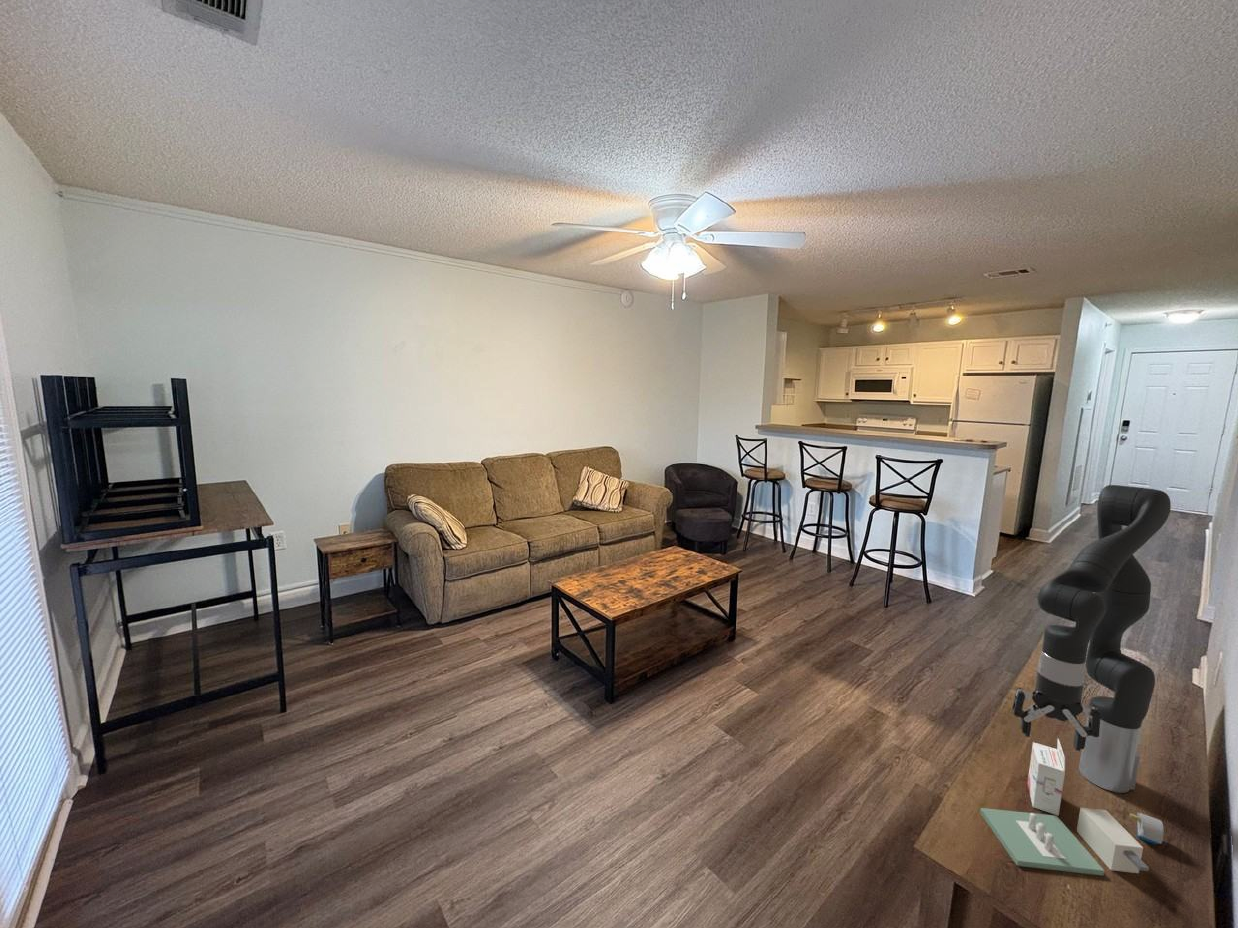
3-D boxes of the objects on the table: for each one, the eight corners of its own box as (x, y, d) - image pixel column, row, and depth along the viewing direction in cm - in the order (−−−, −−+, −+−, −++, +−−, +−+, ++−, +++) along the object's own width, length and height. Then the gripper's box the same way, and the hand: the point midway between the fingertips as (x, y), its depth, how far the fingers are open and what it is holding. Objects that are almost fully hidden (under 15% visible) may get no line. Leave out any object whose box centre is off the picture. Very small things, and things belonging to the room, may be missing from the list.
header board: (1055, 820, 112) (1058, 801, 111) (1103, 875, 99) (1107, 855, 99) (979, 812, 114) (982, 794, 113) (1016, 865, 101) (1019, 845, 101)
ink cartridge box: (1025, 782, 123) (1033, 729, 120) (1051, 791, 120) (1060, 737, 118) (1031, 807, 116) (1040, 751, 113) (1059, 817, 113) (1068, 759, 111)
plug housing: (1101, 833, 109) (1105, 809, 108) (1154, 890, 96) (1159, 864, 96) (1076, 831, 109) (1080, 807, 108) (1126, 887, 97) (1130, 860, 96)
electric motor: (1124, 819, 112) (1128, 800, 111) (1155, 831, 109) (1159, 812, 108) (1129, 841, 107) (1133, 821, 106) (1162, 854, 104) (1166, 833, 103)
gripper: (1099, 675, 106) (1088, 742, 109) (1016, 657, 114) (1007, 720, 116) (1111, 693, 100) (1099, 764, 103) (1022, 673, 107) (1013, 740, 110)
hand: (1050, 741), depth 109 cm, fingers open, 8 cm apart
